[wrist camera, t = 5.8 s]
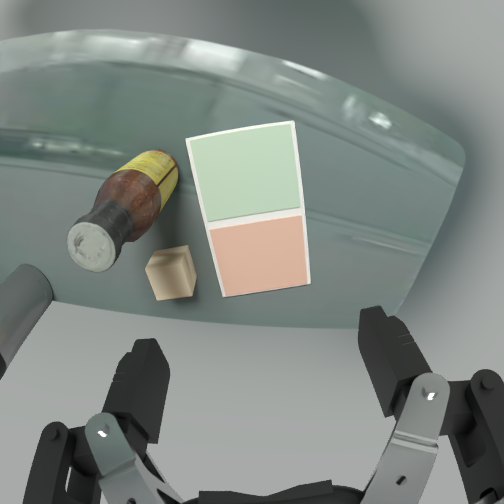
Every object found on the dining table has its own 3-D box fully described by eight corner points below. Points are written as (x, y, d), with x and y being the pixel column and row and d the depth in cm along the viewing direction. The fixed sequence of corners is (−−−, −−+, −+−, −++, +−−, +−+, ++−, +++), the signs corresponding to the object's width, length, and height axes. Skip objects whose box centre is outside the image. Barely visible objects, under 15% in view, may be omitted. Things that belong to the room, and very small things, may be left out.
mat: (223, 295, 44) (222, 297, 44) (185, 138, 34) (185, 139, 33) (310, 282, 44) (310, 284, 43) (293, 120, 33) (294, 120, 32)
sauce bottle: (127, 159, 34) (35, 217, 17) (170, 140, 34) (98, 181, 16) (146, 204, 37) (78, 292, 20) (189, 187, 36) (143, 270, 19)
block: (165, 280, 43) (157, 300, 38) (154, 250, 41) (145, 268, 36) (197, 275, 43) (192, 295, 38) (188, 244, 40) (181, 262, 36)
